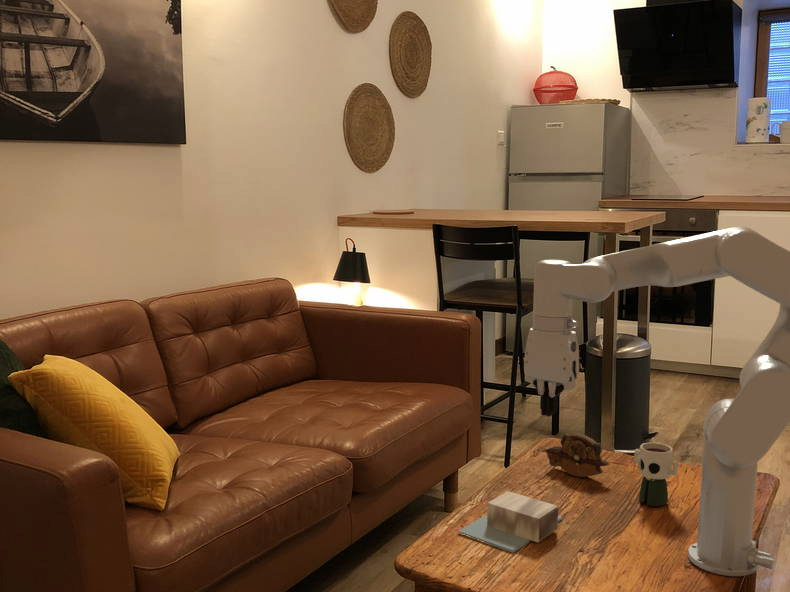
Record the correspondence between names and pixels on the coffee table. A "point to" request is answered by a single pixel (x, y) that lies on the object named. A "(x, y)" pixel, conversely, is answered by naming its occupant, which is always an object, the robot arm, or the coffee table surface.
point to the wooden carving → (577, 456)
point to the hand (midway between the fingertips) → (548, 414)
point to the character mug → (655, 471)
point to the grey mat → (495, 535)
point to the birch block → (522, 516)
